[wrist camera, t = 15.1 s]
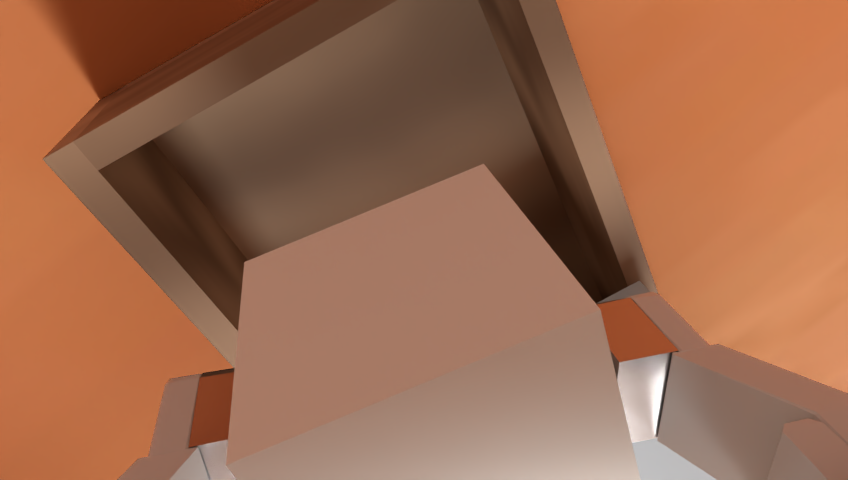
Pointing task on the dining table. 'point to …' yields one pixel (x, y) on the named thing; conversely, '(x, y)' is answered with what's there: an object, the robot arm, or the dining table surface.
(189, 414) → the robot arm
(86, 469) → the dining table surface
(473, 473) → the cube
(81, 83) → the dining table surface
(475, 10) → the box
